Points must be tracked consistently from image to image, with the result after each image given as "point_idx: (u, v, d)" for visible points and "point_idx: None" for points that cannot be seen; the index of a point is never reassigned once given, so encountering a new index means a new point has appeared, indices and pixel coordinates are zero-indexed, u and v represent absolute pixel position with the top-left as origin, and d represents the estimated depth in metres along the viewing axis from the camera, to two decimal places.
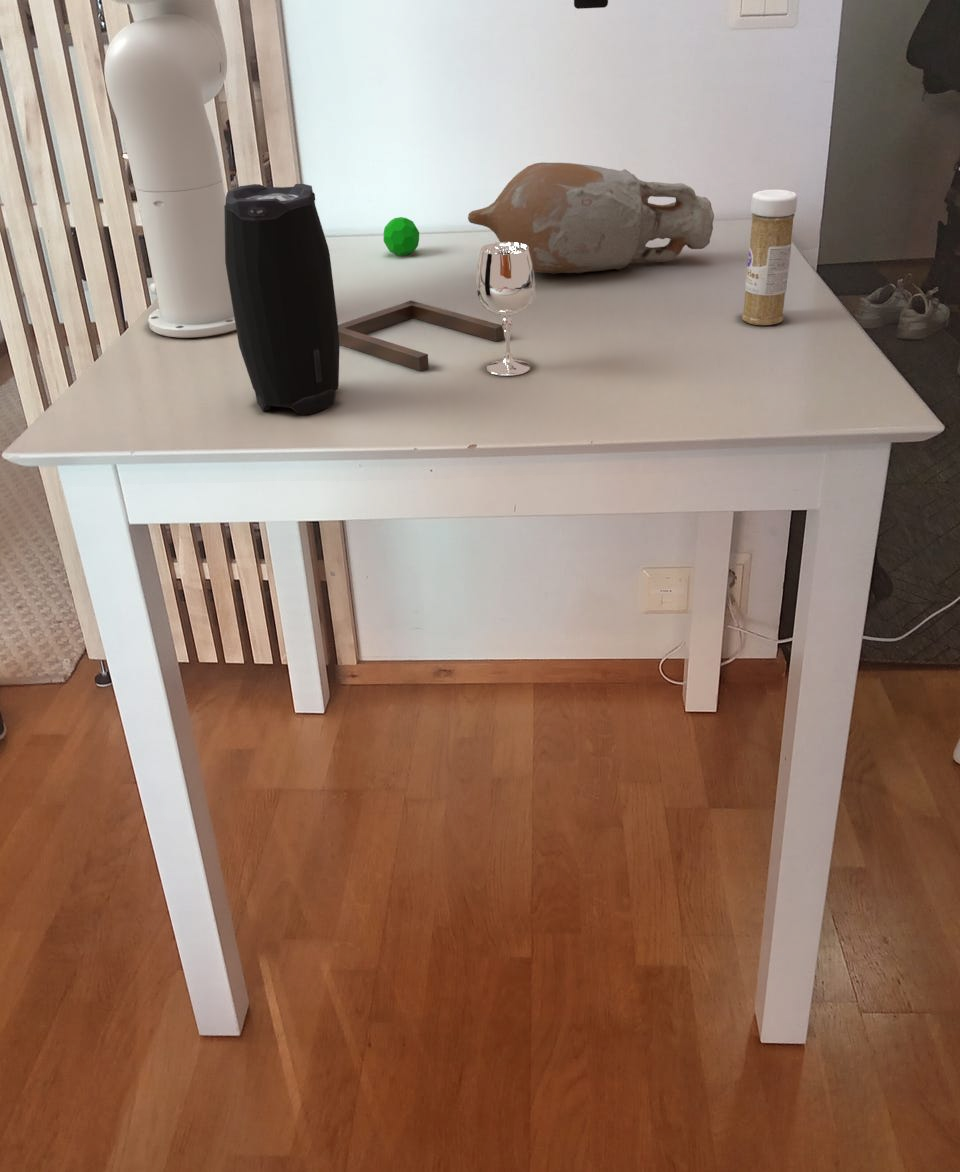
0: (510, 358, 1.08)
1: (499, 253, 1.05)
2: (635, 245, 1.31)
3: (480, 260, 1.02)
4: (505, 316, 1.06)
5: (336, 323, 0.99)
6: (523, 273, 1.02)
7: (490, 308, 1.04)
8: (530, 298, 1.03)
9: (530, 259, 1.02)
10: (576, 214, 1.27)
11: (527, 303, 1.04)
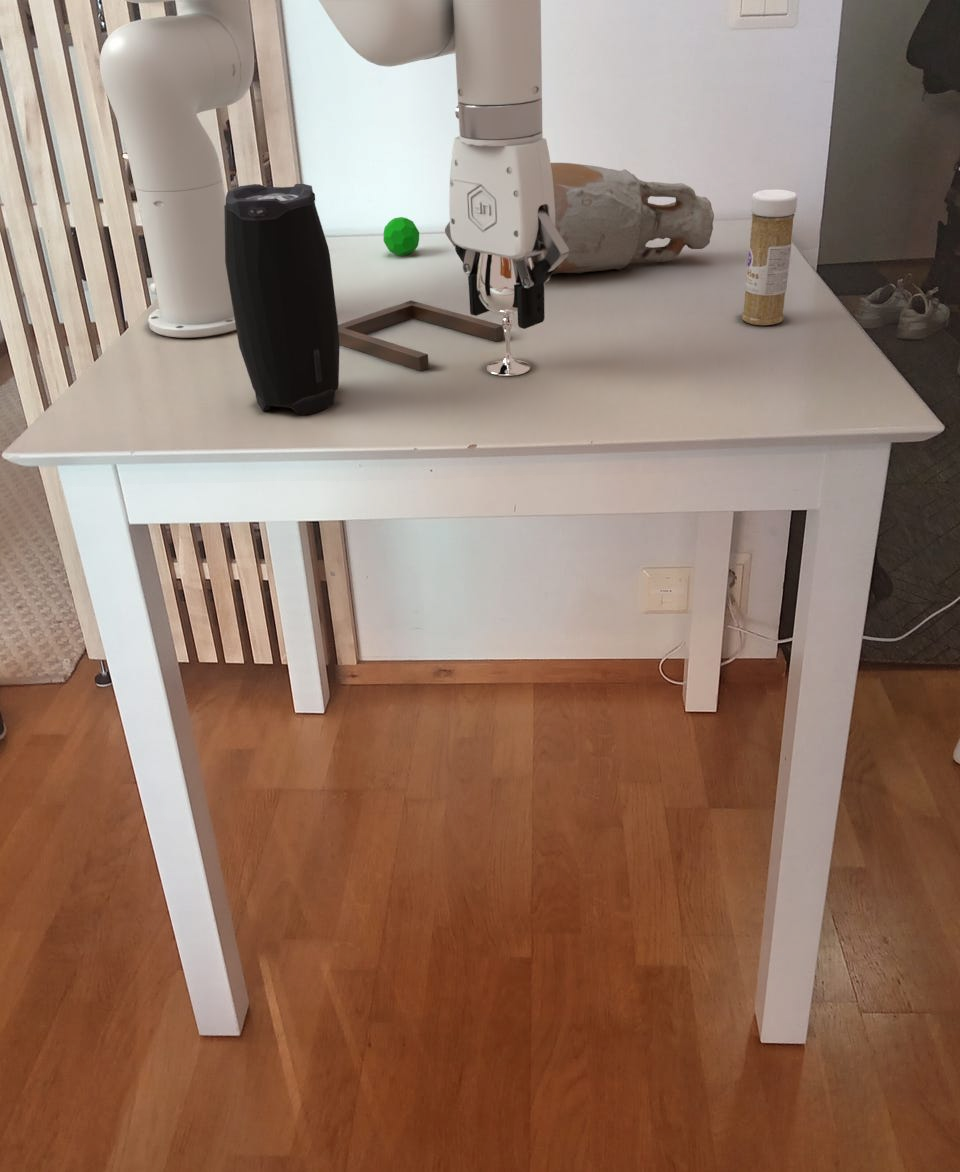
0: (510, 358, 1.08)
1: None
2: (635, 245, 1.31)
3: (480, 260, 1.02)
4: (505, 316, 1.06)
5: (336, 323, 0.99)
6: None
7: (490, 308, 1.04)
8: None
9: (530, 259, 1.02)
10: (575, 214, 1.27)
11: None
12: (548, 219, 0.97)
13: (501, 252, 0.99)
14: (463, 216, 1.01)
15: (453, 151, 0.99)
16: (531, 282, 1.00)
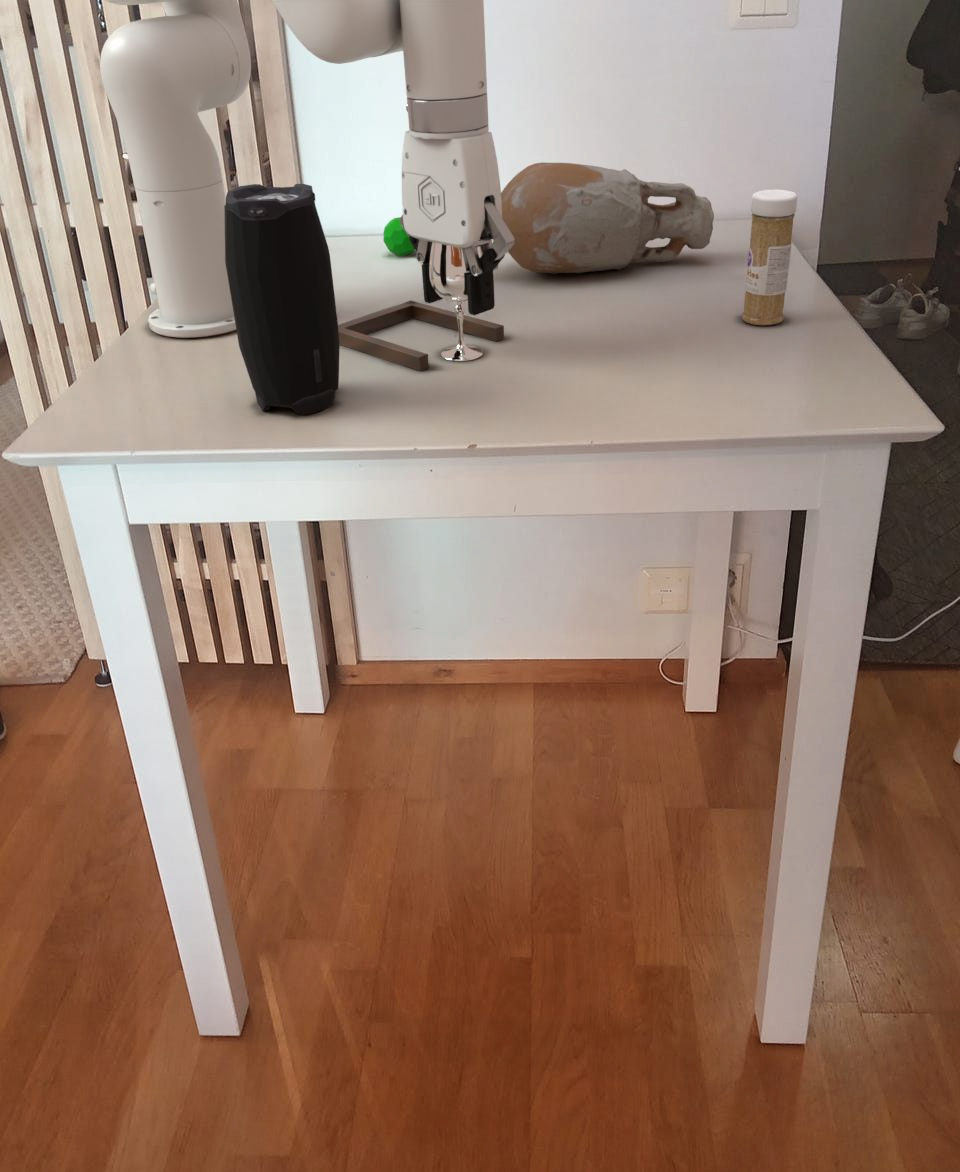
0: (463, 344, 1.12)
1: None
2: (635, 245, 1.31)
3: (432, 249, 1.06)
4: (457, 303, 1.10)
5: (336, 323, 0.99)
6: None
7: (442, 295, 1.08)
8: None
9: (480, 248, 1.06)
10: (575, 214, 1.27)
11: None
12: (494, 209, 1.02)
13: (450, 241, 1.03)
14: (414, 207, 1.05)
15: (404, 144, 1.03)
16: (479, 270, 1.04)
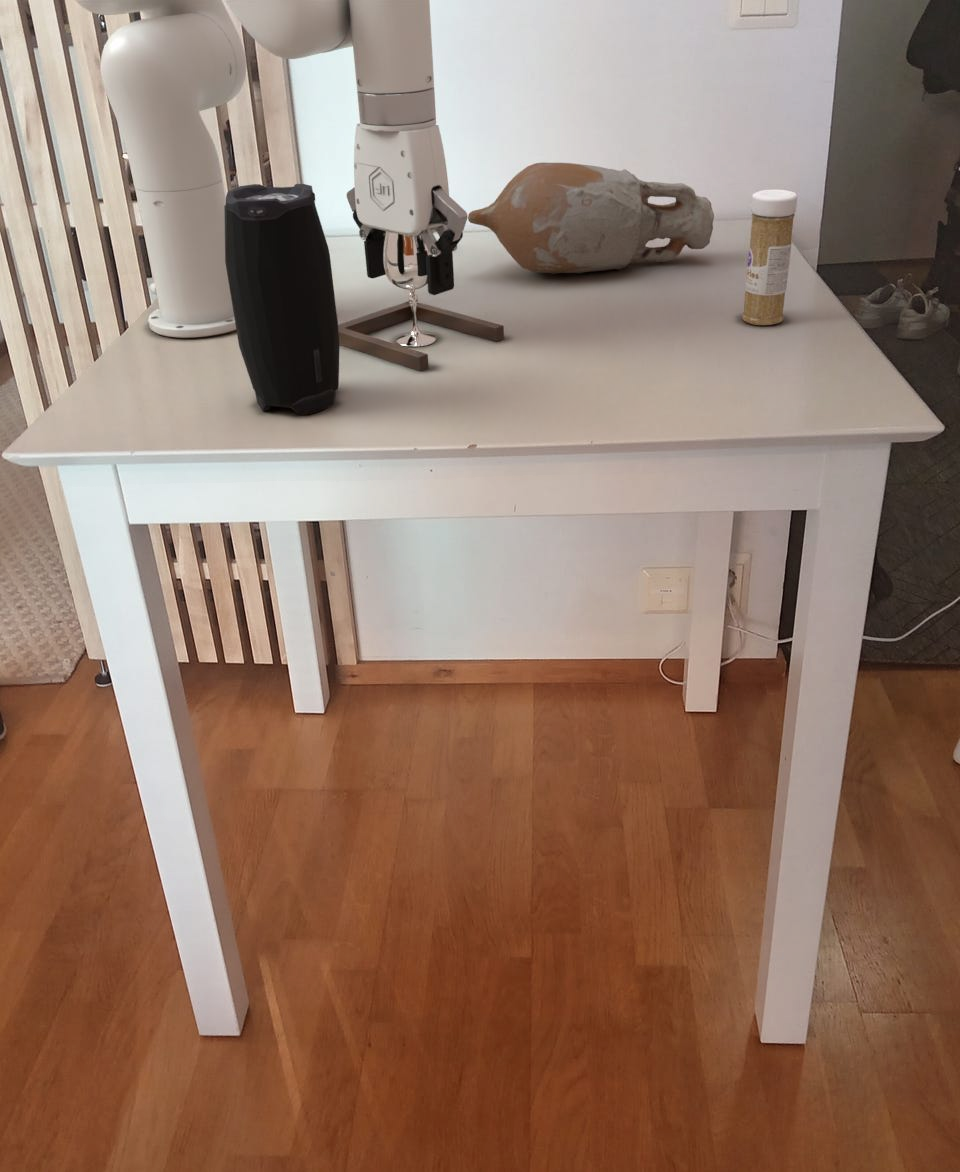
0: (417, 330, 1.16)
1: None
2: (635, 245, 1.31)
3: (385, 239, 1.11)
4: (411, 291, 1.14)
5: (336, 323, 0.99)
6: (424, 251, 1.10)
7: (395, 283, 1.12)
8: None
9: None
10: (575, 214, 1.27)
11: None
12: (443, 192, 1.06)
13: (399, 229, 1.08)
14: (366, 196, 1.09)
15: (355, 136, 1.07)
16: (438, 251, 1.07)
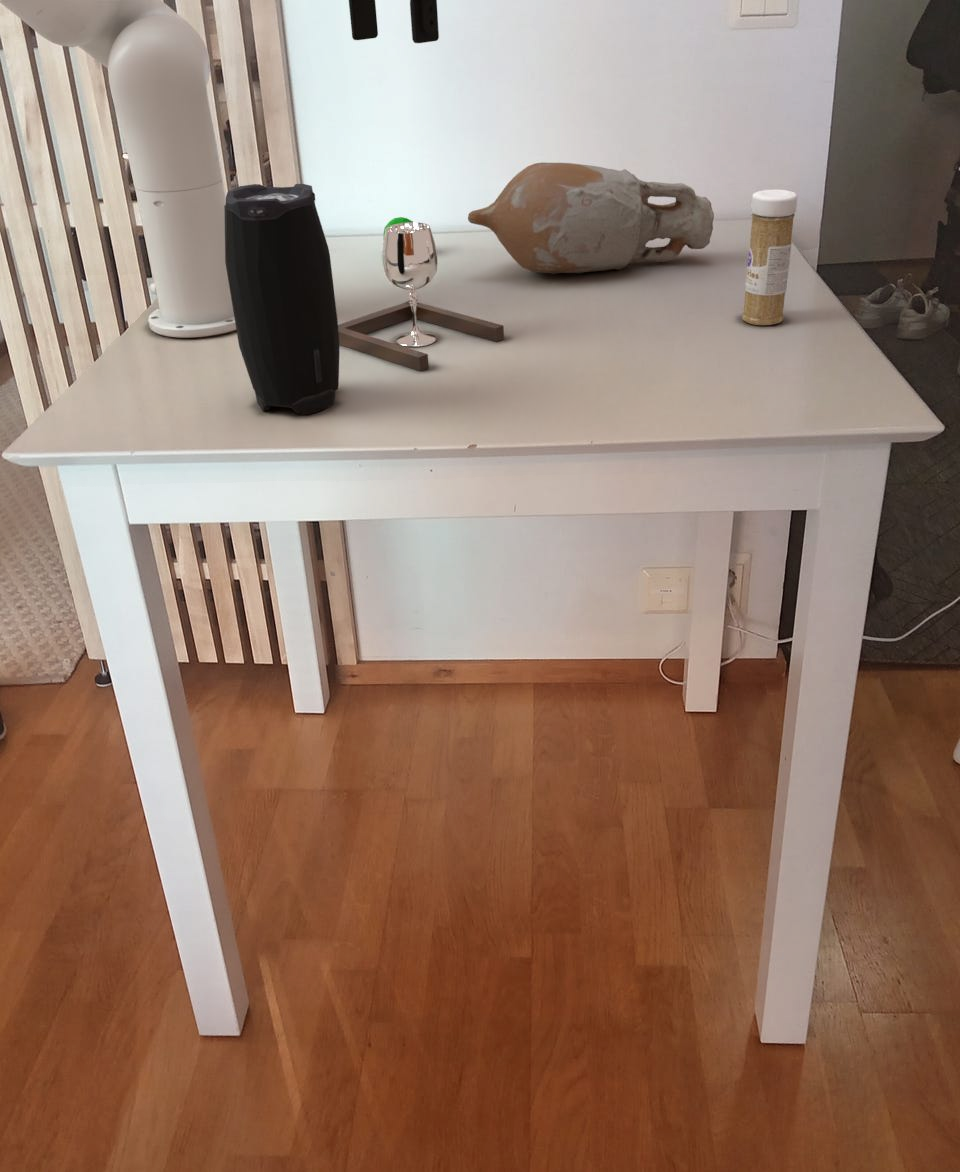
0: (417, 330, 1.16)
1: (405, 233, 1.14)
2: (635, 245, 1.31)
3: (385, 238, 1.11)
4: (411, 291, 1.14)
5: (336, 323, 0.99)
6: (424, 251, 1.10)
7: (395, 283, 1.12)
8: (432, 274, 1.12)
9: (431, 238, 1.11)
10: (575, 214, 1.27)
11: (429, 279, 1.12)
12: None
13: None
14: None
15: None
16: None
